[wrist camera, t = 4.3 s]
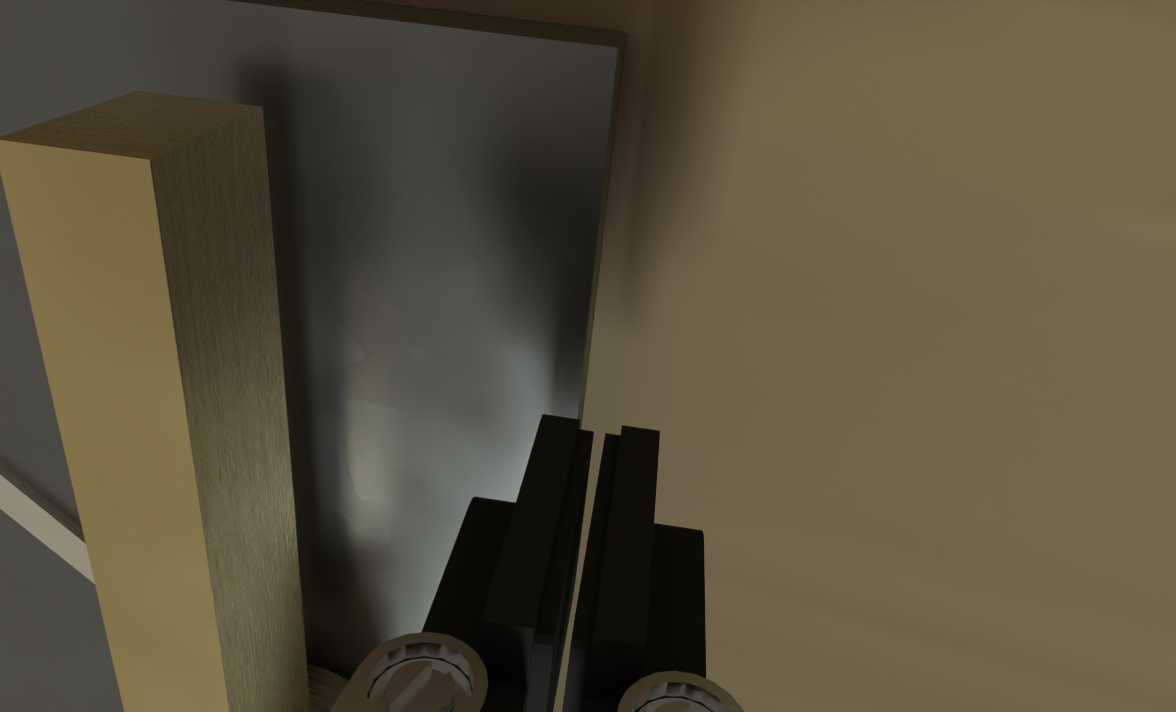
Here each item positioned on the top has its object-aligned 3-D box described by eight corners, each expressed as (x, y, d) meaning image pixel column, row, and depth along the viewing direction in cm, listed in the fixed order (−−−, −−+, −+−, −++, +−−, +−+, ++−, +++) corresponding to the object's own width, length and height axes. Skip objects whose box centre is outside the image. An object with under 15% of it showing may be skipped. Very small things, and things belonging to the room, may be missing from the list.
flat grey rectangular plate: (626, 32, 12) (597, 85, 9) (524, 931, 23) (493, 1119, 20) (-291, -79, 13) (-668, -72, 9) (27, 844, 24) (-91, 1012, 20)
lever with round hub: (397, 104, 11) (249, 204, 8) (401, 819, 19) (326, 1054, 15) (77, 64, 12) (-222, 141, 8) (204, 786, 19) (80, 1009, 15)
